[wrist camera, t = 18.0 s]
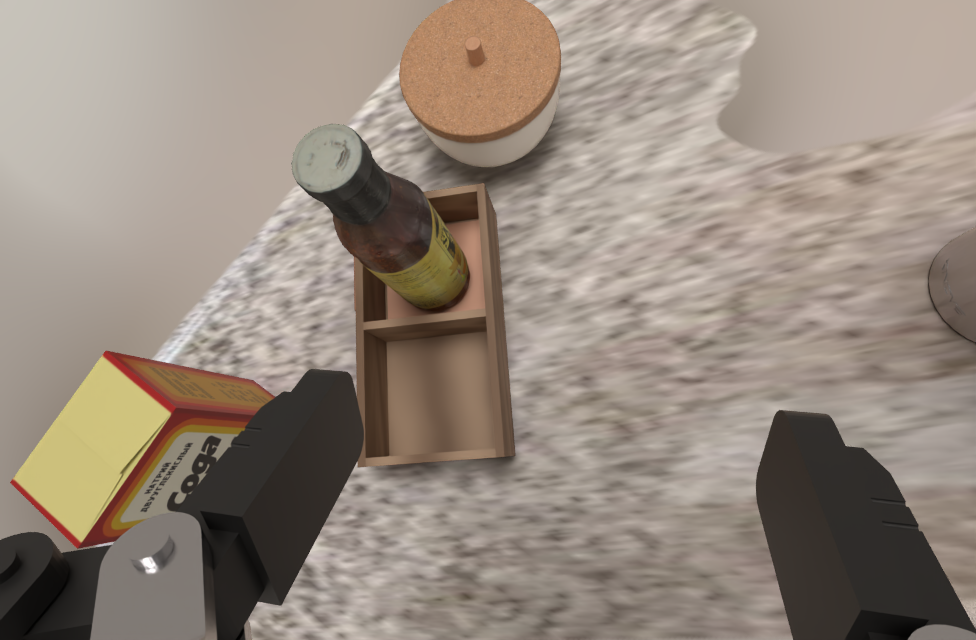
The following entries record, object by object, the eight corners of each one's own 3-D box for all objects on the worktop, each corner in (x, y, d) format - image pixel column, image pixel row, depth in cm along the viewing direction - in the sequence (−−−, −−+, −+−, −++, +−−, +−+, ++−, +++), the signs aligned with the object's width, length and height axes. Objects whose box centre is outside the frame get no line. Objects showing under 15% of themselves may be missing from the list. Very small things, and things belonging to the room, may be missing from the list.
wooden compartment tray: (496, 214, 48) (483, 183, 43) (515, 455, 43) (504, 456, 38) (376, 231, 50) (349, 203, 44) (382, 465, 45) (352, 467, 39)
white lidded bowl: (421, 188, 50) (377, 119, 40) (440, 68, 53) (403, -27, 42) (558, 193, 48) (550, 121, 37) (571, 67, 50) (567, -34, 40)
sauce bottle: (487, 276, 46) (418, 155, 27) (435, 329, 46) (328, 244, 27) (436, 228, 48) (336, 82, 29) (385, 279, 48) (251, 166, 28)
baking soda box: (242, 515, 46) (71, 549, 31) (190, 471, 48) (3, 482, 33) (306, 420, 47) (171, 407, 32) (253, 380, 49) (100, 349, 34)
